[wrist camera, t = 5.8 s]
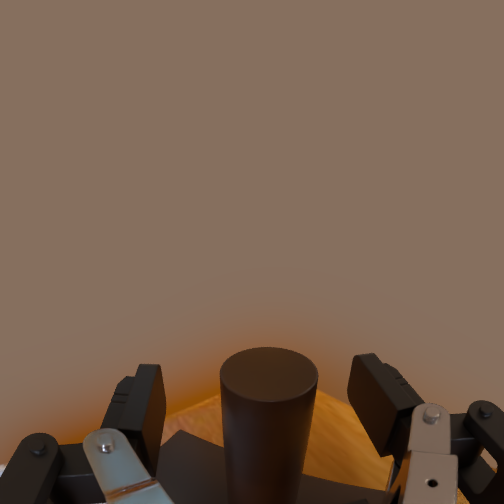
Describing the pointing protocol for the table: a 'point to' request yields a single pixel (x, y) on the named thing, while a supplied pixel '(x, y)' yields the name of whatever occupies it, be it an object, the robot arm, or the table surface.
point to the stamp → (256, 440)
